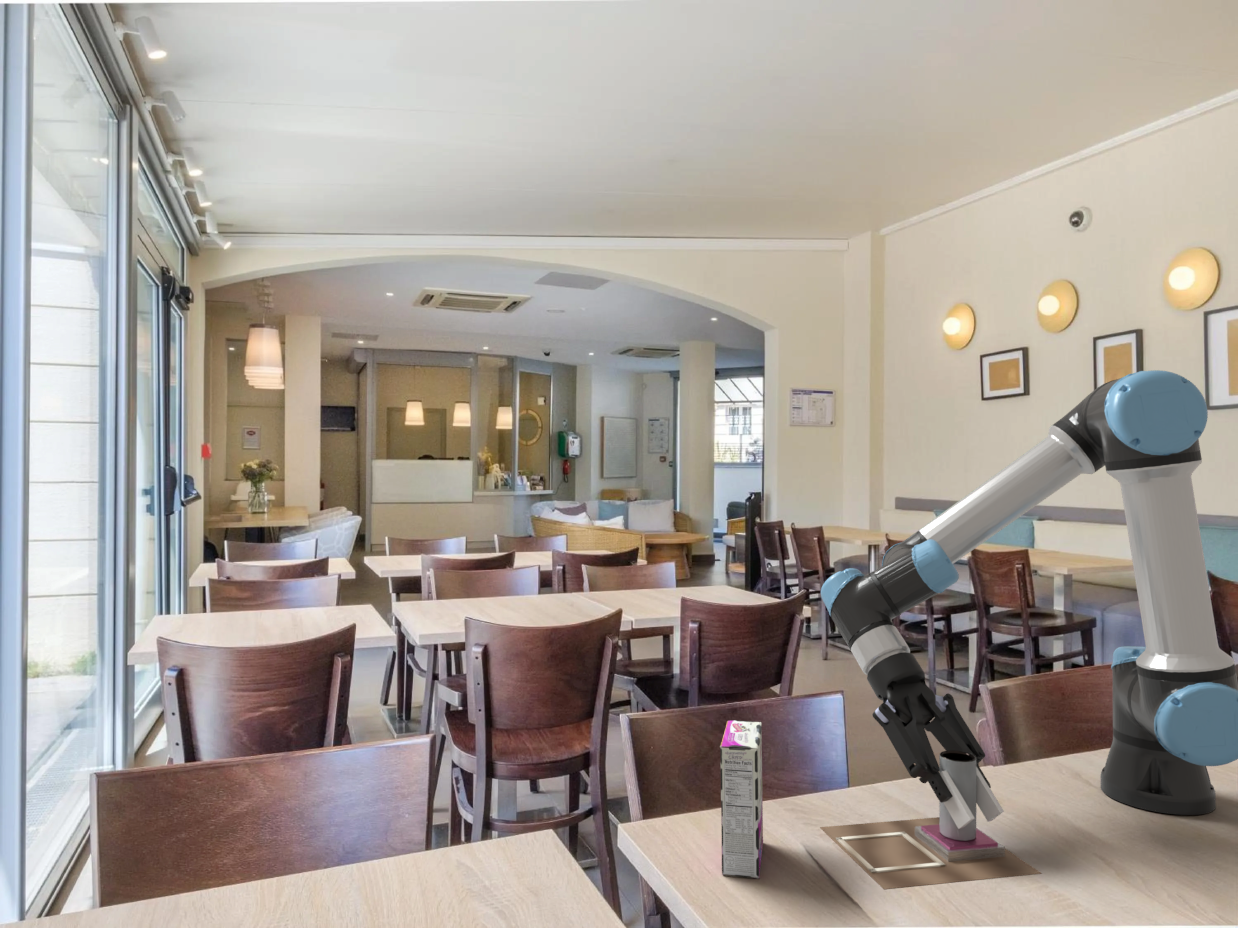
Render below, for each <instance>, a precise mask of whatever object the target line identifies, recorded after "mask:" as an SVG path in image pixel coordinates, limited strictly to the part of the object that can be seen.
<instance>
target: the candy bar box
mask: <svg viewBox="0 0 1238 928" xmlns="http://www.w3.org/2000/svg"><path fill="white" fill-rule="evenodd" d="M762 725H763V723H762V722H761V721H748V720H747V721H746V720H727V721H726V725H725V729H724V733H723V736H722V740H721V742H720V745H719V748H720V754H719V755H720V804H721V805H720V806H721V807H720V808H721V809H720V810H721V811H720V812H721V820H720V821H721V875H723V876H727V877H735V878H744V879H745V878H749V879H760V875H761V874H760V873H761V864H762V857H763V854H762V853H763V845H764V827H763V826H764V824H763V823H764V819H763V814H764V813H763V811H764V810H763V809H764V808H763V807H764V806H763V754H762V753H763V750H762V749H763V748H762V746H763V745H762V744H763V743H762V741H763V739H762V731H763V730H762V728H763V727H762Z"/></svg>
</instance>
